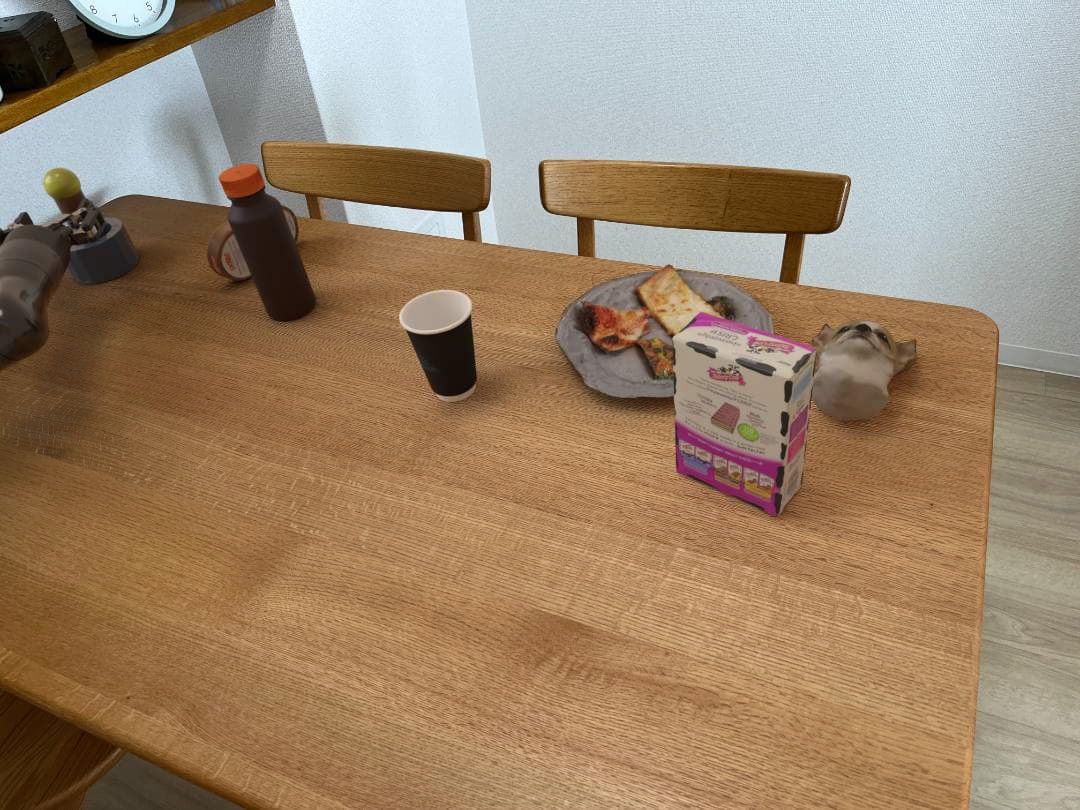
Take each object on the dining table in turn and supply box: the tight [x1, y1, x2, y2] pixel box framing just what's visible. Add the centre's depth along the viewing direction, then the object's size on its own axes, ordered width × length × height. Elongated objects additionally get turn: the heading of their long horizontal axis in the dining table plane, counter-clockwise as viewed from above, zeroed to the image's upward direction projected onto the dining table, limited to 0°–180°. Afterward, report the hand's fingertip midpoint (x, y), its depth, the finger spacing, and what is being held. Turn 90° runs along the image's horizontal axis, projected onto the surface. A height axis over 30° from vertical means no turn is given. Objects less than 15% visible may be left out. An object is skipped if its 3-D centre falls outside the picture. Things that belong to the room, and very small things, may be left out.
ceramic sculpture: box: [810, 319, 918, 422], centre depth 82 cm, size 11×9×15 cm
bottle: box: [218, 163, 317, 322], centre depth 105 cm, size 7×7×20 cm
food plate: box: [554, 263, 776, 399], centre depth 94 cm, size 25×23×4 cm
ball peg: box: [42, 167, 106, 245], centre depth 122 cm, size 5×5×16 cm
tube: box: [67, 217, 140, 285], centre depth 126 cm, size 10×10×6 cm
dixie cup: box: [398, 289, 478, 403], centre depth 90 cm, size 8×8×11 cm
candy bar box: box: [672, 312, 817, 518], centre depth 72 cm, size 11×5×16 cm, turn 50°
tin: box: [206, 204, 300, 282], centre depth 119 cm, size 15×3×8 cm, turn 144°
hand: (58, 211), depth 115 cm, fingers open, 8 cm apart
